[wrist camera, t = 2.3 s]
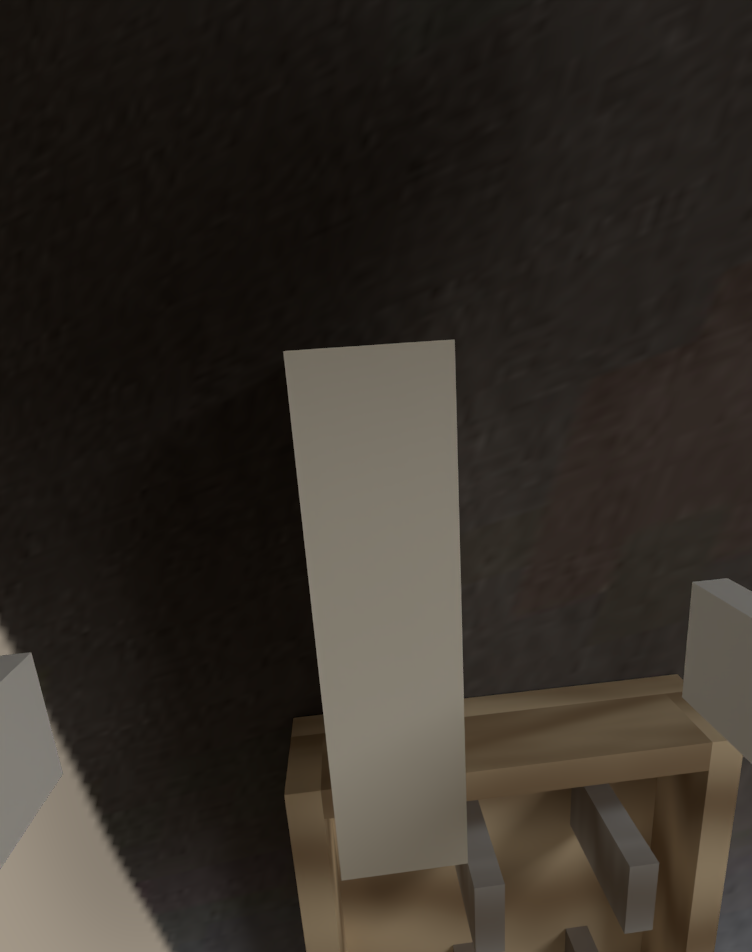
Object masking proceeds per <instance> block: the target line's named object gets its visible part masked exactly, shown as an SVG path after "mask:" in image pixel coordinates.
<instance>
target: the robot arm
mask: <svg viewBox="0 0 752 952" xmlns="http://www.w3.org/2000/svg"><path fill="white" fill-rule="evenodd" d="M682 698H683V699H684V700H685V701H686V702H688V703H689V704H690V705H691V706H692V707H693V708H694V709H695V710H696V711H697V712H698V713H699V714H700V715H701V716H702V717H703V718H704V719H705V720H706V721H707V722H709V723H710V724H711V725H712V726H713V727H714V728H715V729H716V730H717V731H718V732H719V733H720V734H721V735H722V736H723V737H724V738H725V739H726V740H727V741H728V742H729V743H731V744H732V745H733V746H734V747H735V748H736V749H737V750H738V751H739V752H740V753H741V754H742V755H743V756H744V757H745V758H746V759H747V760H748V761H749V762H750V763H751V764H752V591H750V590H748V589H746V588H744V587H742V586H741V585H739V584H737V583H735V582H733V581H731V580H729V579H728V578H726V579H716V580H707V581H698V582H692V592H691V603H690V614H689V626H688V637H687V648H686V659H685V670H684V681H683V692H682ZM62 774H63V772H62V768H61V764H60V760H59V757H58V753H57V749H56V745H55V741H54V737H53V734H52V730H51V726H50V722H49V718H48V714H47V711H46V707H45V703H44V699H43V695H42V692H41V688H40V684H39V680H38V676H37V673H36V669H35V665H34V661H33V657H32V654H31V653H21V654H12V655H3V656H0V869H1V867H2V866H3V864H4V863H5V861H6V860H7V858H8V856H9V855H10V853H11V851H12V850H13V849H14V847H15V846H16V844H17V843H18V841H19V840H20V838H21V837H22V835H23V834H24V832H25V831H26V829H27V828H28V826H29V824H30V823H31V822H32V820H33V819H34V817H35V816H36V814H37V812H38V811H39V809H40V808H41V806H42V805H43V803H44V802H45V800H46V799H47V797H48V796H49V794H50V793H51V791H52V790H53V788H54V787H55V785H56V784H57V782H58V781H59V779H60V778H61V776H62Z"/></svg>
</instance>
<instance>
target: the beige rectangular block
mask: <svg viewBox="0 0 752 952" xmlns="http://www.w3.org/2000/svg"><path fill="white" fill-rule="evenodd" d="M283 354H284V363H285V372H286V381H287V390H288V399H289V408H290V417H291V426H292V435H293V444H294V453H295V462H296V471H297V480H298V490H299V499H300V508H301V517H302V526H303V535H304V544H305V553H306V562H307V571H308V580H309V589H310V598H311V607H312V616H313V625H314V634H315V643H316V652H317V661H318V671H319V680H320V689H321V698H322V707H323V716H324V725H325V734H326V743H327V752H328V761H329V770H330V779H331V788H332V797H333V806H334V815H335V824H336V833H337V842H338V852H339V861H340V870H341V879H342V881H343V880H350V879H358V878H365V877H372V876H380V875H387V874H394V873H402V872H409V871H416V870H423V869H431V868H438V867H445V866H453V865H460V864H467V863H468V846H467V806H466V767H465V728H464V688H463V649H462V609H461V570H460V531H459V491H458V452H457V412H456V373H455V339H454V340H440V341H425V342H410V343H395V344H380V345H366V346H351V347H336V348H321V349H307V350H292V351H283Z"/></svg>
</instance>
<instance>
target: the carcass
mask: <svg viewBox="0 0 752 952" xmlns="http://www.w3.org/2000/svg"><path fill="white" fill-rule="evenodd" d="M683 681H684V680H683V679H681V678H680V677H679V676H678V675H677V674H675V675H666V676H657V677H649V678H640V679H631V680H622V681H613V682H605V683H596V684H587V685H578V686H569V687H561V688H552V689H543V690H534V691H525V692H517V693H508V694H499V695H490V696H481V697H473V698H464V728H465V767H466V806H467V846H468V863H467V864H460V865H453V866H445V867H438V868H431V869H423V870H416V871H409V872H402V873H394V874H387V875H380V876H372V877H365V878H358V879H350V880H343V881H342V879H341V870H340V861H339V852H338V842H337V833H336V824H335V815H334V806H333V797H332V788H331V779H330V770H329V761H328V752H327V743H326V734H325V725H324V716H323V715H314V716H305V717H297V718H293V725H292V734H291V742H290V751H289V759H288V767H287V776H286V784H285V793H284V797H285V804H286V811H287V818H288V826H289V833H290V840H291V847H292V854H293V861H294V868H295V875H296V882H297V889H298V896H299V904H300V911H301V918H302V925H303V932H304V939H305V946H306V952H714V948H715V942H716V935H717V928H718V921H719V914H720V908H721V901H722V894H723V887H724V880H725V874H726V867H727V860H728V853H729V846H730V840H731V833H732V826H733V819H734V812H735V806H736V799H737V792H738V785H739V778H740V772H741V765H742V758H743V755H742V754H741V753H740V752H739V751H738V750H737V749H736V748H735V747H734V746H733V745H732V744H731V743H729V742H728V741H727V740H726V739H725V738H724V737H723V736H722V735H721V734H720V733H719V732H718V731H717V730H716V729H715V728H714V727H713V726H712V725H711V724H710V723H709V722H707V721H706V720H705V719H704V718H703V717H702V716H701V715H700V714H699V713H698V712H697V711H696V710H695V709H694V708H693V707H692V706H691V705H690V704H689V703H688V702H686V701H685V700H684V699H683V698H682V692H683Z"/></svg>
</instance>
